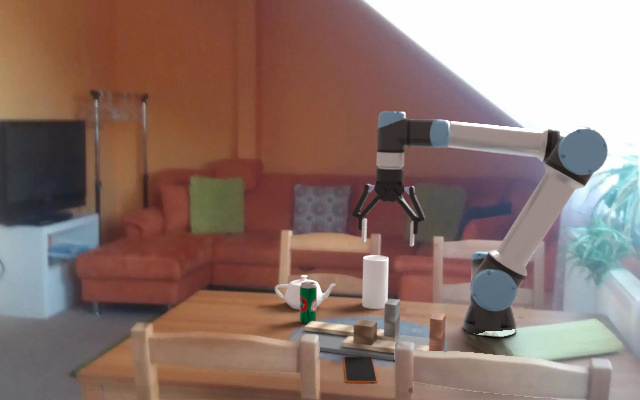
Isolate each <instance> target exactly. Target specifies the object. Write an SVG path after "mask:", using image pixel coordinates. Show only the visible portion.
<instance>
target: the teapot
mask: <svg viewBox="0 0 640 400" xmlns="http://www.w3.org/2000/svg"><path fill="white" fill-rule="evenodd" d="M300 278H301V279H295V280H292V281H290V282H289V283H283V284H282V283H281V284H277V285H276V286H274V292H275V294H276V295H277V296H278V297H279V298H281V299H283V300H285V303H286V304H287V305H288V306H289V307H290V308H291V309H294V310H299V311H300V286H301V283H302V282H306V281H310V282H315V283H316V284H315V285H316V286H317V308H318V306H319V305H321V304H322V303H323V301H324V300H326V299H327V298H328V297H329V296H330V295H331V292H332V290H333V288H334V287H335V286H336V285H337V284H336V283H331V284H329V286H328V288H327V289H326V291H325V292H322V289H321V286H320V284H319V282H318V281H316V280H313V279H307V278H308V275H307V274H301V275H300ZM279 288H286V291H285V294H282V293H281V292H280V290H279Z"/></svg>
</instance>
